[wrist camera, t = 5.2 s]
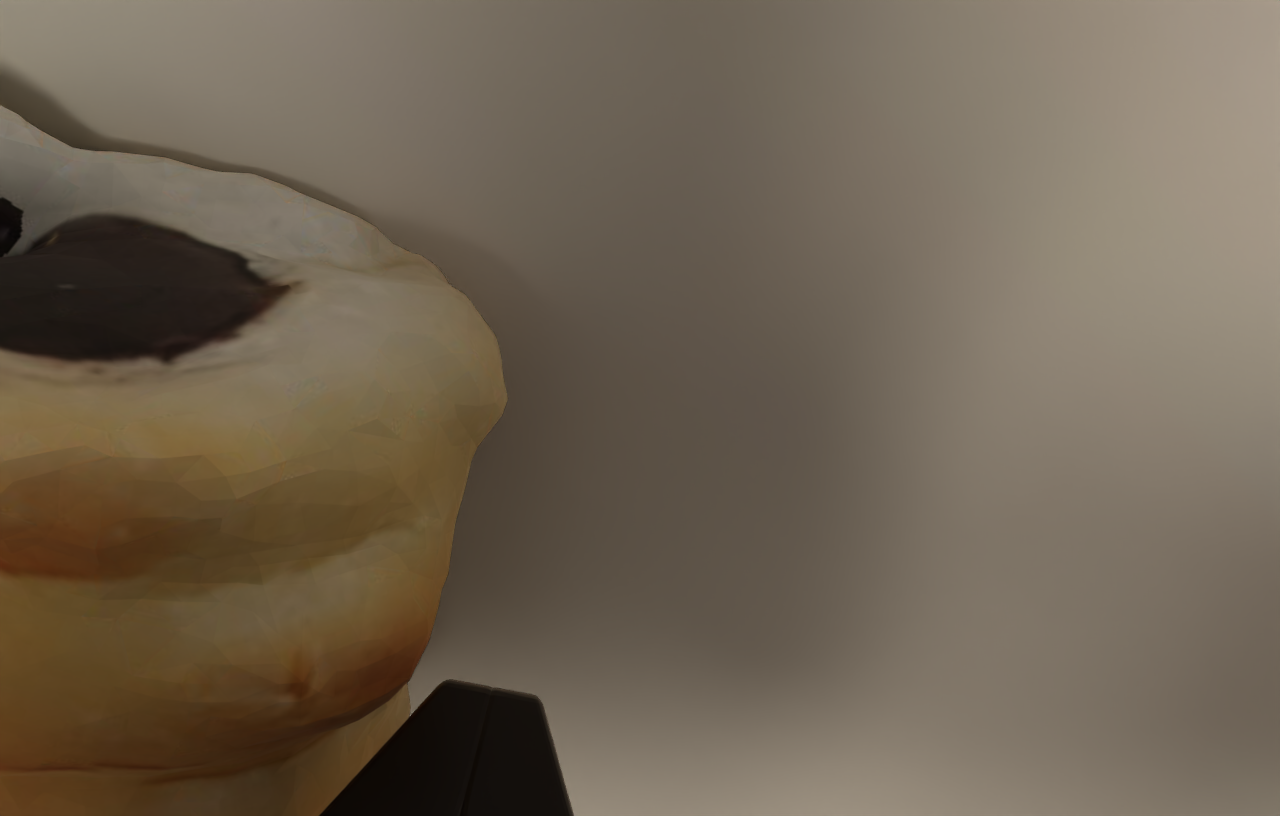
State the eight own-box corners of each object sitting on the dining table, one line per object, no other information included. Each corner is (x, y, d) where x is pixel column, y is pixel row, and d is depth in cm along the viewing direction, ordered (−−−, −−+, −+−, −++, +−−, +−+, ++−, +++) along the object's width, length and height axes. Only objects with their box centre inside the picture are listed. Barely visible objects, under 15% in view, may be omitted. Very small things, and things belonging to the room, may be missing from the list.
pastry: (351, 924, 14) (238, 1291, 11) (-231, 777, 14) (-531, 1120, 11) (558, 226, 10) (467, 513, 6) (-321, -53, 9) (-924, 108, 6)
